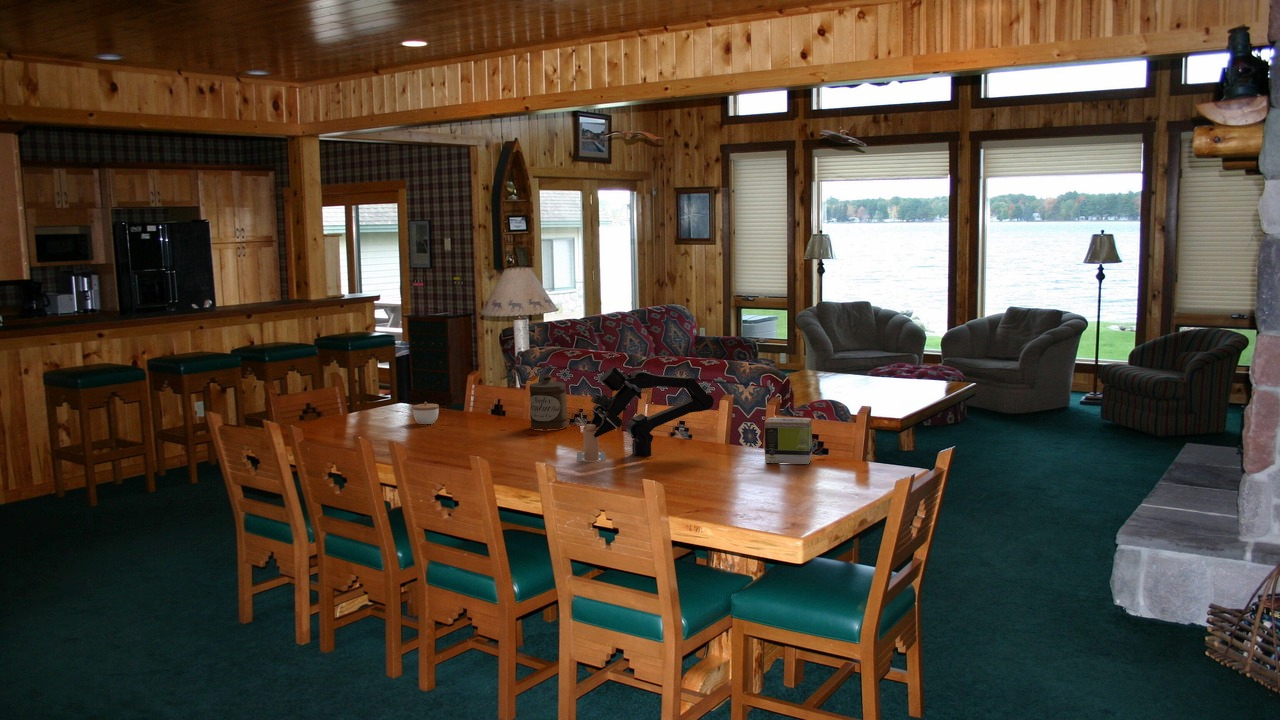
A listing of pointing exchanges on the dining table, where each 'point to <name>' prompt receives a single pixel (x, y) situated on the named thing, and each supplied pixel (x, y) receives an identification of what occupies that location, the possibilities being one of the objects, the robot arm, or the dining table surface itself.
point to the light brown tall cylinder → (590, 443)
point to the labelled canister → (548, 404)
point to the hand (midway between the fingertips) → (591, 434)
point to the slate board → (581, 459)
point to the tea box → (788, 440)
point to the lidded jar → (426, 413)
